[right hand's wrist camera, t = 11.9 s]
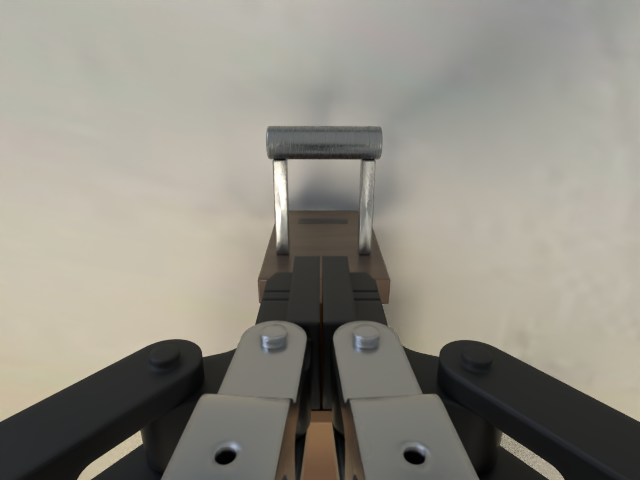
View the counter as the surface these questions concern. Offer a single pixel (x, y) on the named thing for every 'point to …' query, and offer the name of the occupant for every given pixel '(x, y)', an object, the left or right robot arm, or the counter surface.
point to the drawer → (324, 226)
